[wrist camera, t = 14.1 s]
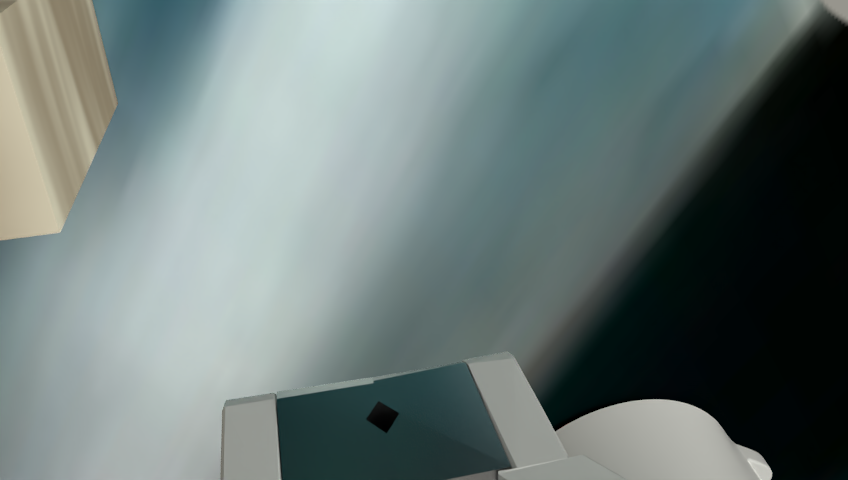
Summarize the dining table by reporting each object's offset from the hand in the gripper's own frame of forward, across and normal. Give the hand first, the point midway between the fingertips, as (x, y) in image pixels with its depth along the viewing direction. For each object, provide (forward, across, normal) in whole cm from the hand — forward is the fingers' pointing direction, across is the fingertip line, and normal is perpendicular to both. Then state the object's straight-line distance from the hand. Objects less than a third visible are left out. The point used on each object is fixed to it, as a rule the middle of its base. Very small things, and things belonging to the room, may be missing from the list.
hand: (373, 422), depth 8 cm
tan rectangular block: (+21, +7, 0) cm, 22 cm away
